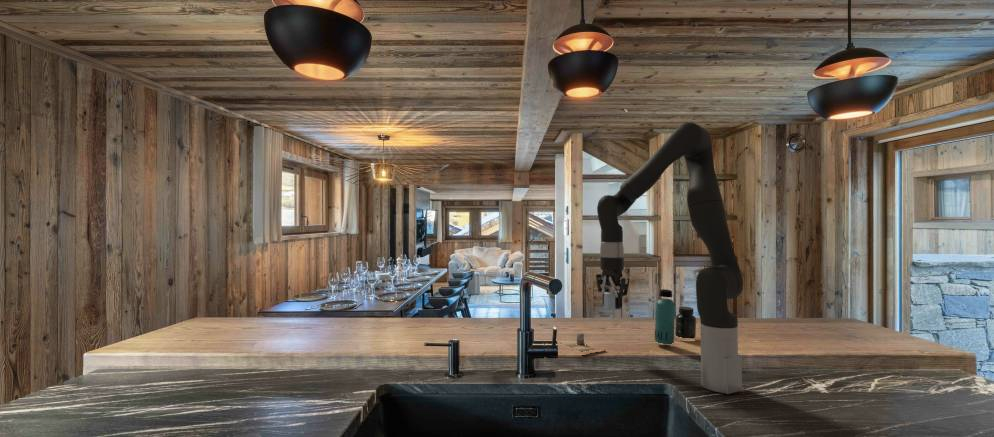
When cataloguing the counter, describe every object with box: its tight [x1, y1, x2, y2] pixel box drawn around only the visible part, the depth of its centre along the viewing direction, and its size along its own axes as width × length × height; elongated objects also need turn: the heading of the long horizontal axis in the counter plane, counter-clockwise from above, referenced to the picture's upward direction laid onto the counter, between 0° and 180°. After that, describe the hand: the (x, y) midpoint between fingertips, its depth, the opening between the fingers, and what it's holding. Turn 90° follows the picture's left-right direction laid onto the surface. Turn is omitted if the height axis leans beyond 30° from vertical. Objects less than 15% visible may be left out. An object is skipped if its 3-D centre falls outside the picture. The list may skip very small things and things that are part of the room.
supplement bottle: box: [674, 306, 697, 339], centre depth 162 cm, size 7×7×12 cm
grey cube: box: [603, 290, 620, 311], centre depth 146 cm, size 5×5×5 cm
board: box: [559, 332, 595, 352], centre depth 152 cm, size 12×10×5 cm
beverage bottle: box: [654, 288, 676, 345], centre depth 154 cm, size 6×7×20 cm
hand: (612, 306), depth 146 cm, fingers closed on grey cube, 5 cm apart
